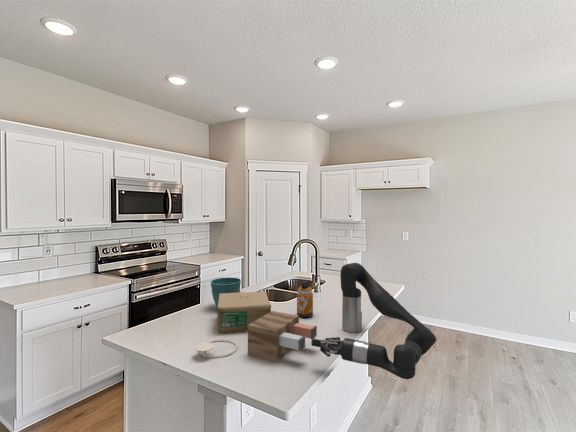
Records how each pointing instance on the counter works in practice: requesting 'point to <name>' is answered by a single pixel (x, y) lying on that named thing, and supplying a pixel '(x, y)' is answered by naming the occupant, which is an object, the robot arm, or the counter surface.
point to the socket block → (270, 335)
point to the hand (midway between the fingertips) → (312, 341)
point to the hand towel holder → (209, 346)
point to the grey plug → (292, 341)
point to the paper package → (241, 310)
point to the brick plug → (304, 330)
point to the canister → (305, 300)
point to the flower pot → (224, 287)
